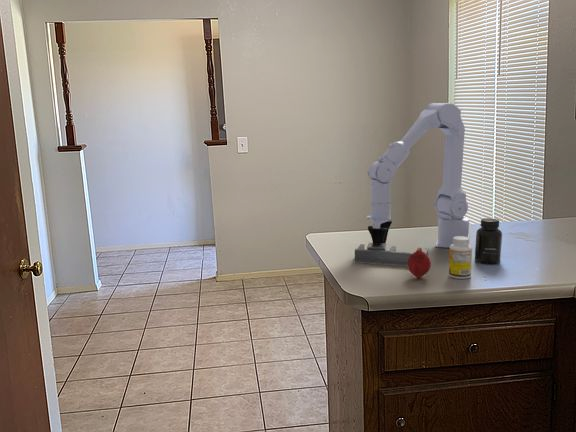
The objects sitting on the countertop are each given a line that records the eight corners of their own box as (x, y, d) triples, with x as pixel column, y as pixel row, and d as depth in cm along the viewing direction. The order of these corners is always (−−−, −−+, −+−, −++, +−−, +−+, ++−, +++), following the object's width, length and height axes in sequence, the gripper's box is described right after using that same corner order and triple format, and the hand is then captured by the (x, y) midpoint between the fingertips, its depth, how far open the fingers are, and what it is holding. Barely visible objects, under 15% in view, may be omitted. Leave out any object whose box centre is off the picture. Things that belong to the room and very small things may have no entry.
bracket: (427, 258, 162) (428, 246, 161) (425, 267, 153) (425, 255, 152) (360, 253, 168) (360, 242, 167) (354, 262, 159) (354, 250, 158)
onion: (430, 282, 141) (431, 251, 140) (407, 280, 142) (407, 250, 141) (429, 275, 147) (430, 245, 145) (407, 274, 148) (407, 244, 146)
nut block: (385, 256, 165) (386, 242, 164) (384, 261, 160) (384, 247, 159) (368, 255, 166) (368, 242, 165) (367, 260, 161) (367, 246, 160)
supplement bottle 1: (454, 271, 149) (455, 234, 147) (474, 275, 145) (476, 237, 143) (444, 277, 145) (446, 238, 143) (465, 281, 141) (467, 241, 139)
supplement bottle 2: (487, 266, 153) (490, 223, 151) (469, 260, 159) (471, 219, 157) (505, 262, 156) (508, 220, 154) (487, 257, 162) (489, 216, 160)
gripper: (371, 197, 175) (370, 240, 177) (362, 206, 161) (362, 252, 164) (394, 198, 172) (393, 241, 175) (387, 207, 159) (386, 253, 162)
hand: (379, 246), depth 169 cm, fingers open, 7 cm apart
